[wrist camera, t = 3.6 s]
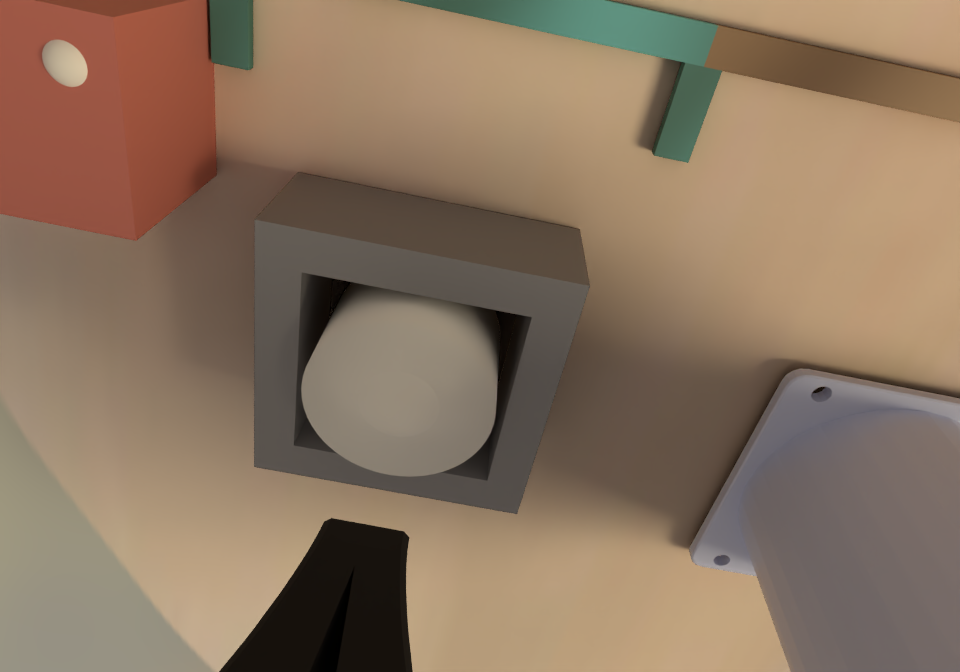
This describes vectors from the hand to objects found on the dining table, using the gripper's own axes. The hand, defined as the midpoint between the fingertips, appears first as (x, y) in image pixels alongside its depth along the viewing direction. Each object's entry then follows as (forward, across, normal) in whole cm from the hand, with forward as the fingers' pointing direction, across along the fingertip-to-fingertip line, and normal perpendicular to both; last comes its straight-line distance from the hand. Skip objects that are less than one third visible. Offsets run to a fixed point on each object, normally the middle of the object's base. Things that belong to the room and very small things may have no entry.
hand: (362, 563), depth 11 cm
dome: (+7, 0, 0) cm, 7 cm away
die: (+8, +8, -5) cm, 12 cm away
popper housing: (+8, 0, 0) cm, 8 cm away
